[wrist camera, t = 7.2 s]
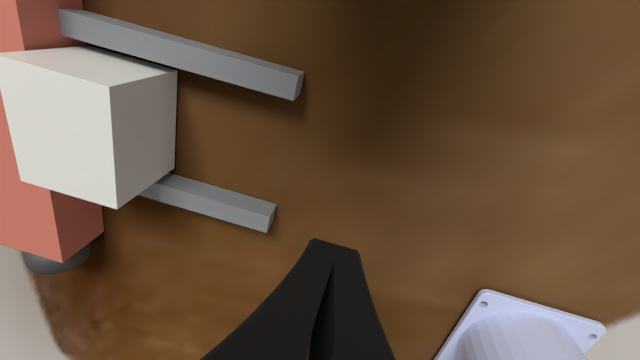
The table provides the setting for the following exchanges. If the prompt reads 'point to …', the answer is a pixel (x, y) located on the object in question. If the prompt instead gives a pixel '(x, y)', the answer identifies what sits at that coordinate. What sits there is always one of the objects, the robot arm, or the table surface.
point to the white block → (89, 121)
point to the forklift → (86, 217)
